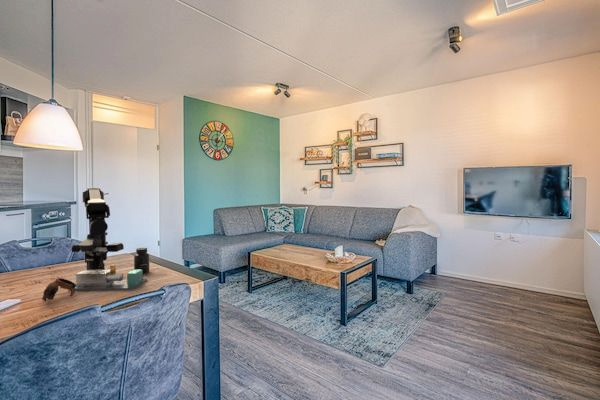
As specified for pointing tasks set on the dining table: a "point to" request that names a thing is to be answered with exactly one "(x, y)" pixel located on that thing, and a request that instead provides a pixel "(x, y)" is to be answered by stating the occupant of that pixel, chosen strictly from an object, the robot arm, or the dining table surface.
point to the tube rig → (98, 281)
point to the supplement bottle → (141, 260)
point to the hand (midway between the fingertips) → (98, 267)
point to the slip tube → (114, 274)
